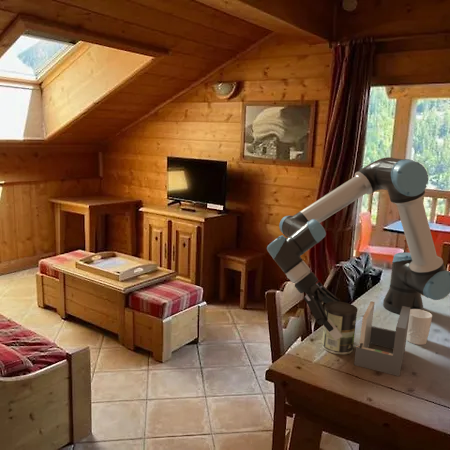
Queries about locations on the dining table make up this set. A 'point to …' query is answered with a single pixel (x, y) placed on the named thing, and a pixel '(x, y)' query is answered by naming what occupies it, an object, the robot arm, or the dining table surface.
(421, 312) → the white cup
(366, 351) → the grey u-shaped holder
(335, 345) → the coffee can
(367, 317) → the curved beige panel
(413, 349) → the dining table surface
